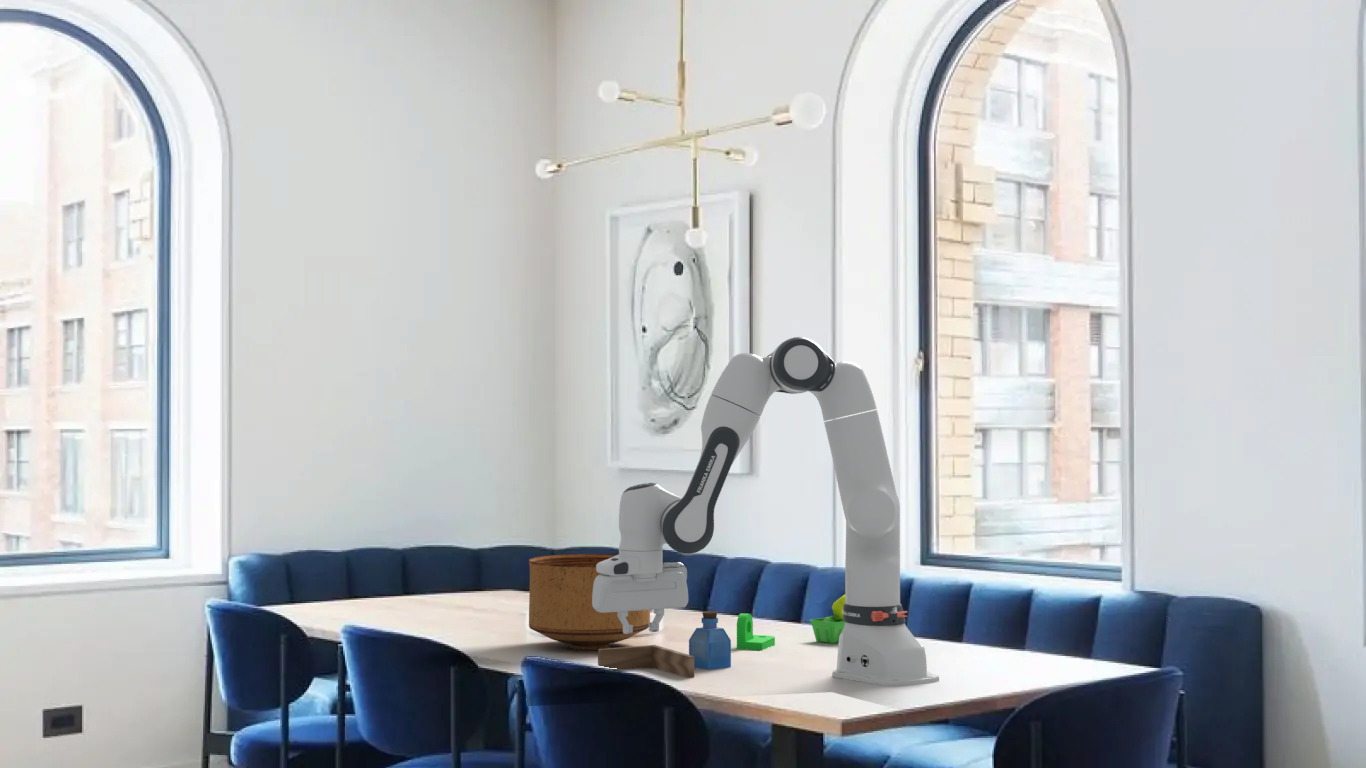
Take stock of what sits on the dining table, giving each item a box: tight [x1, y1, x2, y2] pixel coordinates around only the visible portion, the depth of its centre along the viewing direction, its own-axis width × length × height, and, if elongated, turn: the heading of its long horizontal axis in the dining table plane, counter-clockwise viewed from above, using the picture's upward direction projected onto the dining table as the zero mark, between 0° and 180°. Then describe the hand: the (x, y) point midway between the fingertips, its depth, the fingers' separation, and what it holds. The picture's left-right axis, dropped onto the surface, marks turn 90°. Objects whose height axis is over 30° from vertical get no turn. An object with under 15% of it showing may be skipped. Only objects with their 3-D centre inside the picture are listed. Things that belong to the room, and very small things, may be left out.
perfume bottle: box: [688, 610, 732, 671], centre depth 349 cm, size 6×6×12 cm
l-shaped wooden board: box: [597, 644, 695, 679], centre depth 339 cm, size 18×13×5 cm
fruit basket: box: [809, 593, 845, 644], centre depth 392 cm, size 11×9×11 cm
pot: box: [528, 553, 651, 651], centre depth 381 cm, size 28×28×20 cm
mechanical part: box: [736, 613, 776, 651], centre depth 382 cm, size 12×6×8 cm, turn 159°
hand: (640, 632), depth 338 cm, fingers open, 4 cm apart
